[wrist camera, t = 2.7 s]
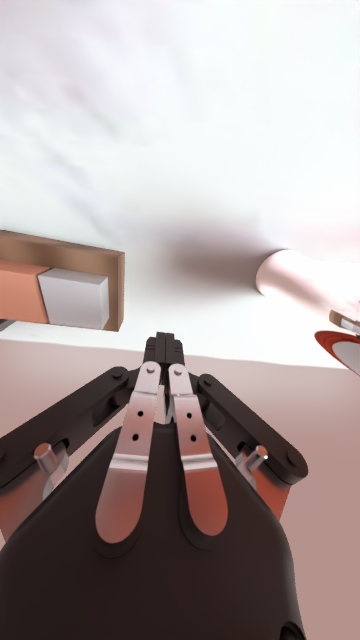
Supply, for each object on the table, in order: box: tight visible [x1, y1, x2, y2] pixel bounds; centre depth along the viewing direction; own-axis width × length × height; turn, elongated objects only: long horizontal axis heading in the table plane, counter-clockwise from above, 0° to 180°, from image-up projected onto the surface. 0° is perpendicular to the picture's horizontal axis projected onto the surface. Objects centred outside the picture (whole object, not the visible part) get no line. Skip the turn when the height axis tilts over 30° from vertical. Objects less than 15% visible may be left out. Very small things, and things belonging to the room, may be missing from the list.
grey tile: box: [38, 268, 109, 330], centre depth 17 cm, size 5×5×2 cm
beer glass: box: [256, 250, 360, 376], centre depth 15 cm, size 7×7×15 cm
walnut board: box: [0, 230, 125, 332], centre depth 19 cm, size 12×9×3 cm
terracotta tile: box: [0, 260, 50, 323], centre depth 16 cm, size 5×5×2 cm
